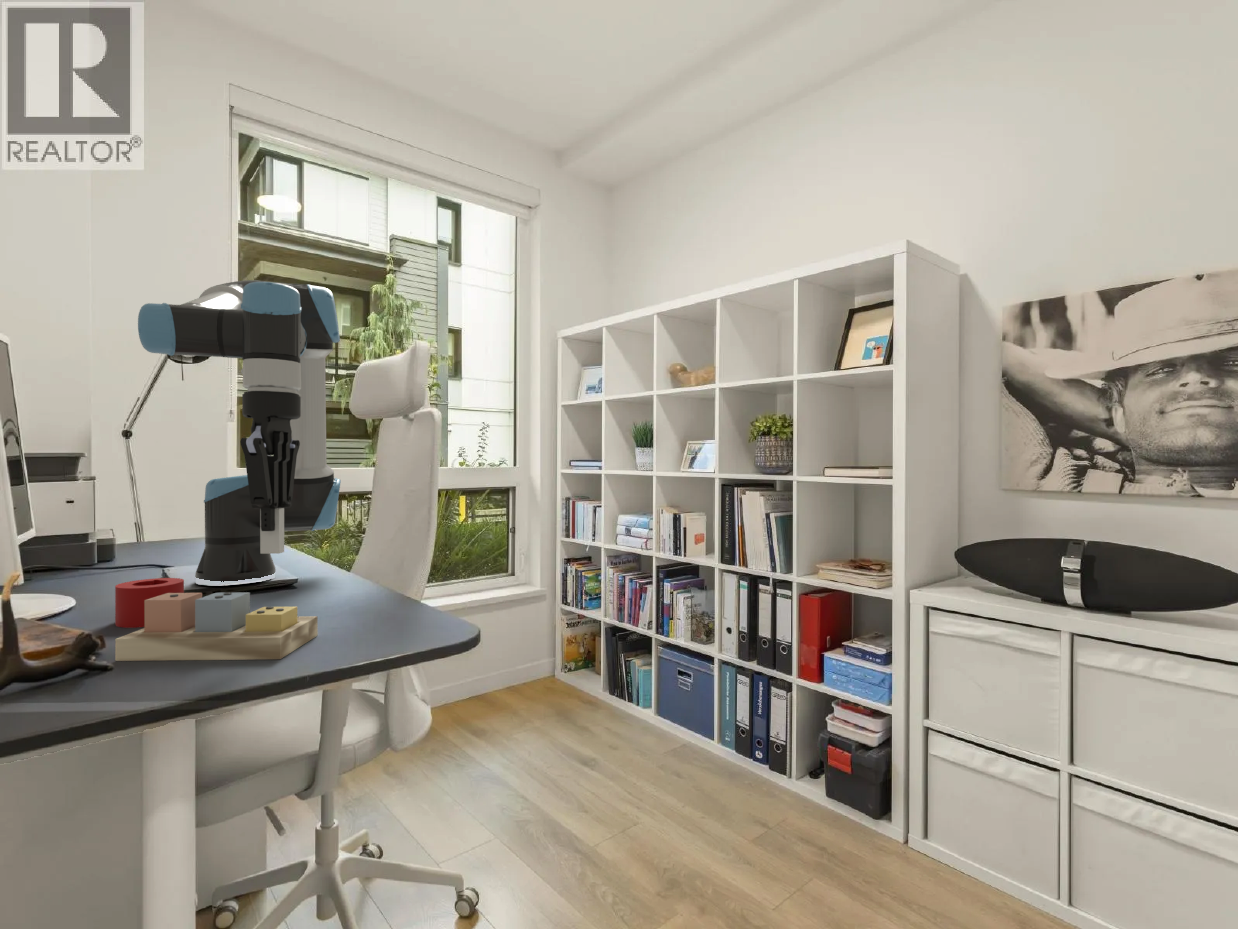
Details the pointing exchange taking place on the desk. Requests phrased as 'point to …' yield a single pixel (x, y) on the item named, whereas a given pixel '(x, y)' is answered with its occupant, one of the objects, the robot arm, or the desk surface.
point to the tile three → (271, 619)
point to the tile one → (170, 612)
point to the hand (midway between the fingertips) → (272, 552)
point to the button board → (215, 643)
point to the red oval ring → (140, 598)
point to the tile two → (221, 612)
